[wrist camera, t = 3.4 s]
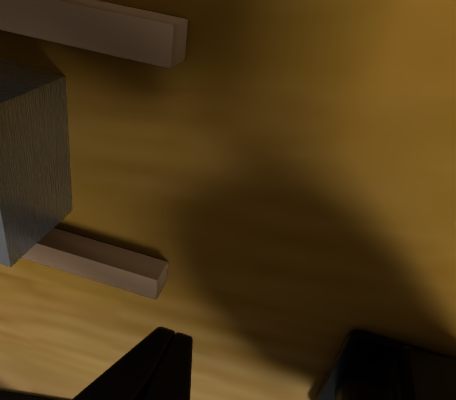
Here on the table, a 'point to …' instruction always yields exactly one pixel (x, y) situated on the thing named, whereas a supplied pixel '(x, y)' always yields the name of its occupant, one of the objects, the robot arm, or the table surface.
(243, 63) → the table surface
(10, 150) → the block
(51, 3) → the brown u-shaped frame
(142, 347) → the robot arm
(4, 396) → the award
